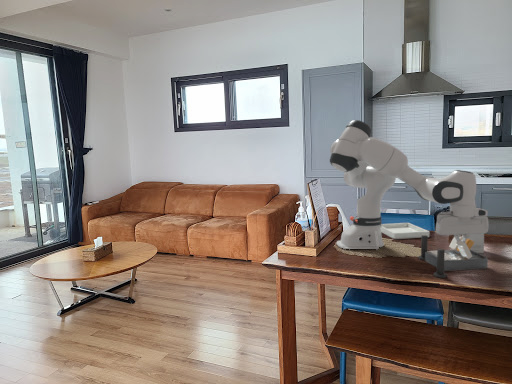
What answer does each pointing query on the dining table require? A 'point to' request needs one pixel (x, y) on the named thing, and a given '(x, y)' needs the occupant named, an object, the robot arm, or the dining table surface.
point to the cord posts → (440, 257)
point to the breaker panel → (458, 260)
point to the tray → (403, 230)
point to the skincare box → (477, 242)
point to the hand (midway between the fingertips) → (461, 244)
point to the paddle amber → (468, 244)
